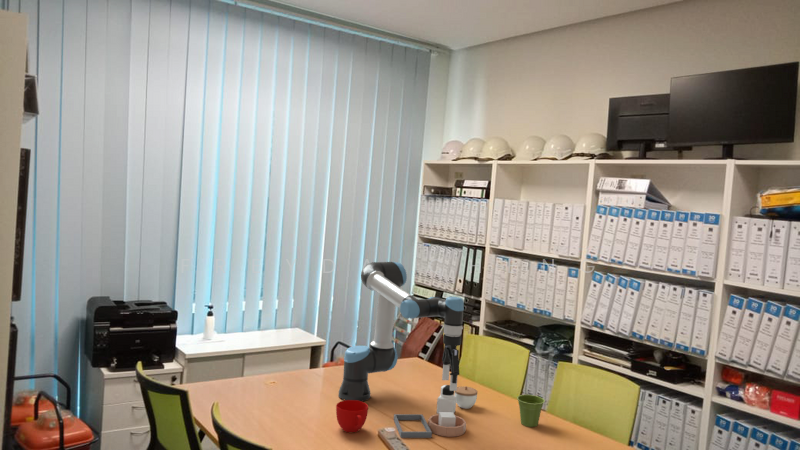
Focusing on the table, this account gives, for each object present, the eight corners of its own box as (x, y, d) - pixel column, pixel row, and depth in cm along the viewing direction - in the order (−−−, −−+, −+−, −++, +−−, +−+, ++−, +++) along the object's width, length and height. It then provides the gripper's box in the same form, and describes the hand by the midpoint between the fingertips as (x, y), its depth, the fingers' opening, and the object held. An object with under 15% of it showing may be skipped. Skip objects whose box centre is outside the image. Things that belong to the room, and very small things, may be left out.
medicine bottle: (455, 411, 266) (457, 385, 266) (451, 416, 259) (453, 389, 259) (440, 408, 268) (442, 382, 268) (436, 413, 262) (438, 387, 261)
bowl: (432, 436, 235) (433, 427, 235) (425, 422, 250) (425, 413, 250) (469, 436, 237) (469, 427, 237) (459, 422, 252) (460, 414, 252)
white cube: (454, 431, 241) (455, 417, 241) (440, 431, 240) (441, 417, 240) (452, 426, 247) (453, 412, 247) (438, 425, 246) (439, 411, 246)
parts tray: (400, 437, 232) (400, 432, 232) (393, 419, 251) (393, 414, 251) (431, 437, 234) (431, 432, 234) (422, 419, 253) (422, 414, 253)
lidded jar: (475, 411, 267) (476, 391, 267) (452, 408, 269) (453, 388, 269) (477, 404, 278) (478, 384, 277) (454, 401, 280) (456, 381, 279)
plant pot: (513, 418, 261) (515, 393, 261) (539, 420, 261) (541, 395, 261) (517, 428, 250) (519, 402, 249) (545, 430, 249) (547, 404, 249)
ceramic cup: (343, 441, 225) (345, 416, 225) (330, 425, 240) (332, 401, 240) (374, 438, 230) (376, 413, 230) (360, 422, 246) (361, 398, 245)
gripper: (469, 342, 231) (465, 395, 231) (454, 328, 255) (450, 376, 256) (450, 341, 229) (447, 395, 230) (437, 327, 254) (434, 375, 255)
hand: (449, 385), depth 243 cm, fingers open, 13 cm apart
